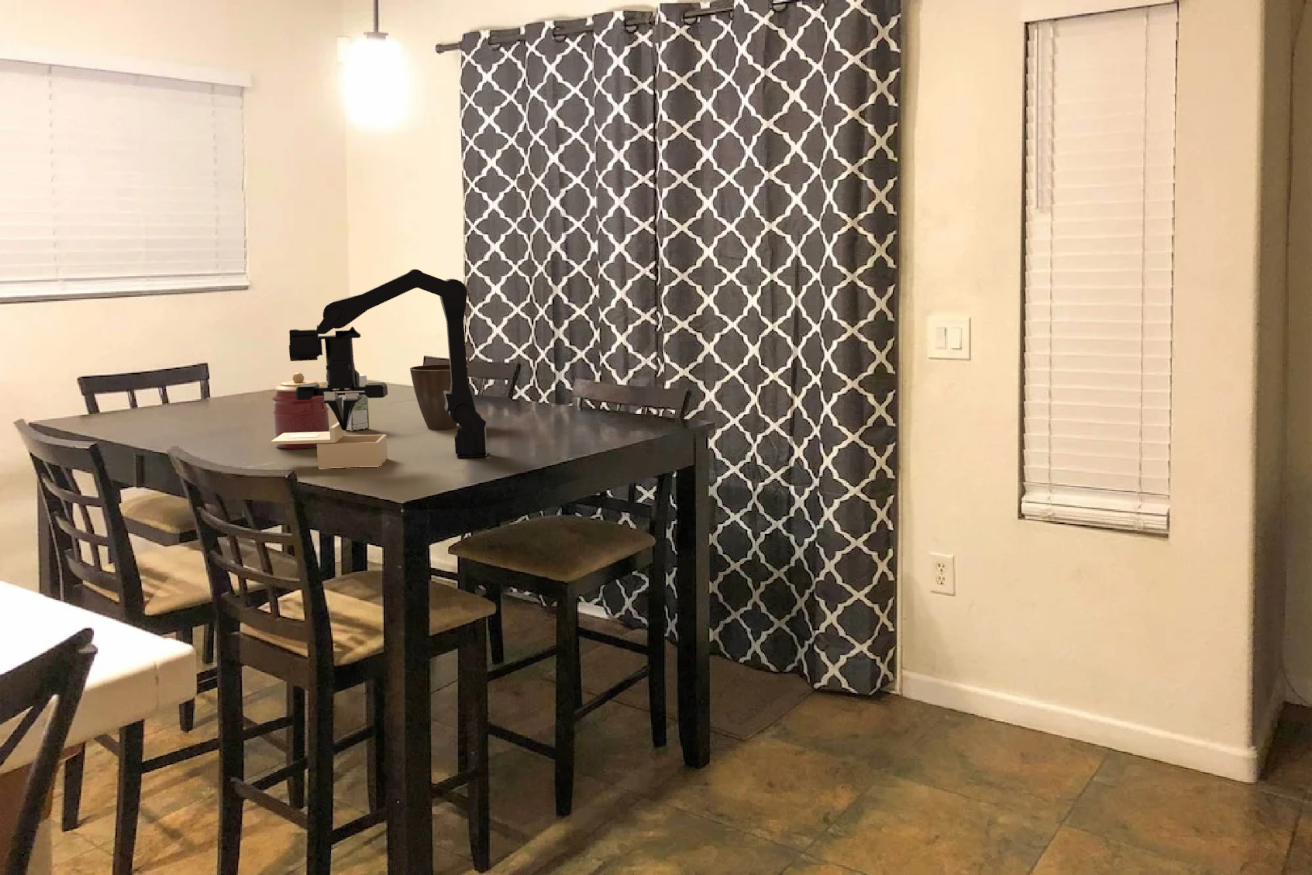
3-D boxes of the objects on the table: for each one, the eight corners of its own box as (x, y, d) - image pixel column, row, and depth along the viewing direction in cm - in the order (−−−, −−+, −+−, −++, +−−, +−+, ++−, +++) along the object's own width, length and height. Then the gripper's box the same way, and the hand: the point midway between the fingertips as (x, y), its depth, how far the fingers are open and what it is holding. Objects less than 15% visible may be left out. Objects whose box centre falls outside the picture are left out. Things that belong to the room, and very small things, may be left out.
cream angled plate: (345, 434, 247) (344, 420, 246) (335, 442, 236) (334, 427, 236) (284, 436, 246) (282, 421, 245) (270, 444, 235) (269, 429, 235)
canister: (263, 448, 264) (257, 375, 261) (298, 439, 276) (293, 369, 273) (308, 450, 259) (303, 376, 256) (342, 441, 271) (337, 370, 268)
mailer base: (387, 458, 248) (386, 434, 247) (379, 467, 238) (377, 442, 237) (329, 460, 247) (327, 436, 246) (318, 469, 237) (316, 444, 236)
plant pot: (424, 422, 297) (421, 363, 294) (478, 422, 295) (475, 363, 292) (405, 432, 283) (401, 370, 280) (460, 432, 281) (457, 370, 278)
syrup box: (356, 426, 293) (353, 372, 290) (370, 428, 289) (366, 374, 286) (338, 429, 288) (334, 375, 286) (352, 432, 285) (348, 376, 282)
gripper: (389, 354, 247) (394, 423, 250) (305, 356, 246) (310, 425, 248) (380, 359, 236) (385, 431, 239) (292, 361, 235) (297, 433, 237)
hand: (344, 430), depth 241 cm, fingers closed
